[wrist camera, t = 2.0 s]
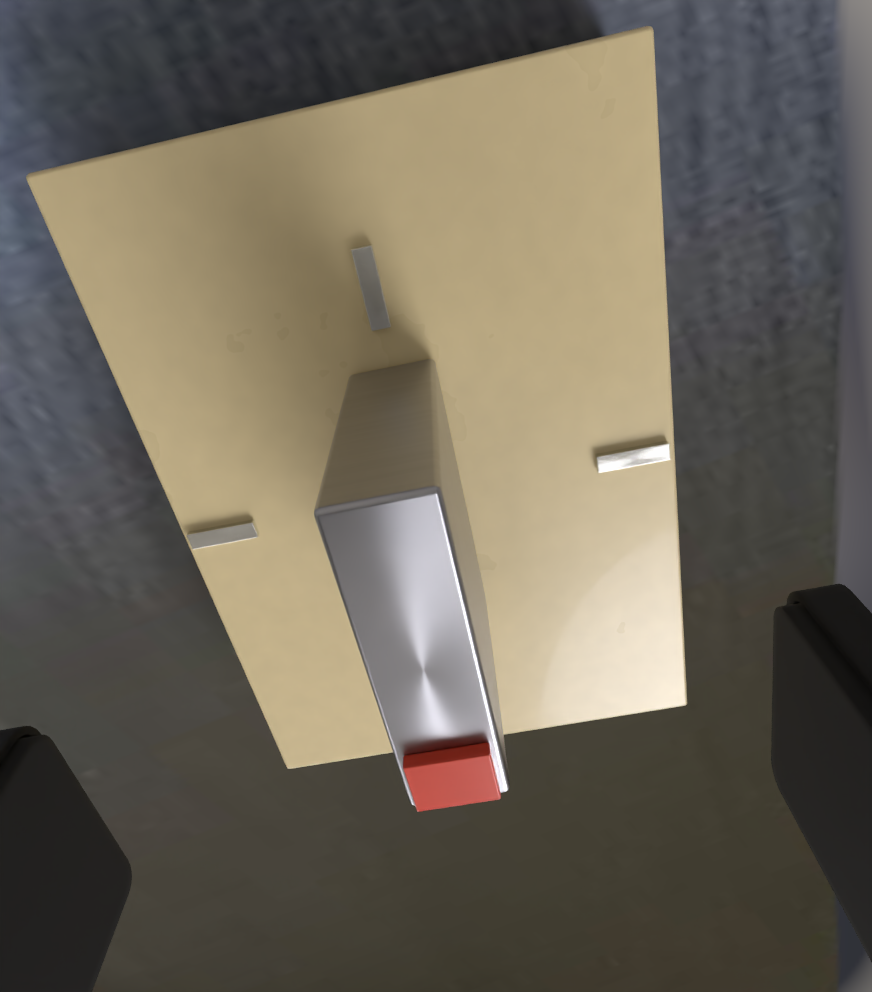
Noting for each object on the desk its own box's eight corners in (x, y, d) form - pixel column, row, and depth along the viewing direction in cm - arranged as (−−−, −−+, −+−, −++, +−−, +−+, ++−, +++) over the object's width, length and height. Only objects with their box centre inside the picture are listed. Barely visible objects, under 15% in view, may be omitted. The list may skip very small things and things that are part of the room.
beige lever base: (97, 161, 14) (17, 176, 11) (608, 40, 13) (657, 23, 10) (304, 685, 21) (285, 775, 18) (652, 626, 20) (690, 711, 17)
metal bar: (347, 374, 13) (308, 521, 8) (434, 356, 13) (441, 496, 8) (413, 610, 16) (409, 822, 11) (485, 598, 16) (513, 806, 11)
